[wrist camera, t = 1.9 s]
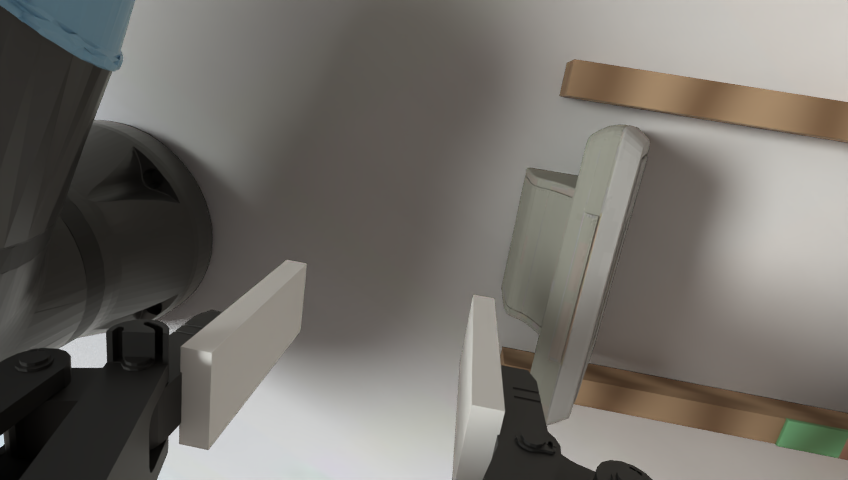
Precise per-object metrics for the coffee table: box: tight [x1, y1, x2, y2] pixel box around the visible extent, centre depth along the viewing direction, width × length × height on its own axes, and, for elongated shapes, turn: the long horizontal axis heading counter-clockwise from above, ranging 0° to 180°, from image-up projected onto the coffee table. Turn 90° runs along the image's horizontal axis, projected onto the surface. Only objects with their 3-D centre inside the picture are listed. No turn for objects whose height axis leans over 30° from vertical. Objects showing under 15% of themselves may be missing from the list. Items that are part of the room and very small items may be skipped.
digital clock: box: [501, 125, 650, 425], centre depth 28 cm, size 16×9×11 cm, turn 160°
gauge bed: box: [500, 59, 848, 460], centre depth 31 cm, size 28×22×3 cm
